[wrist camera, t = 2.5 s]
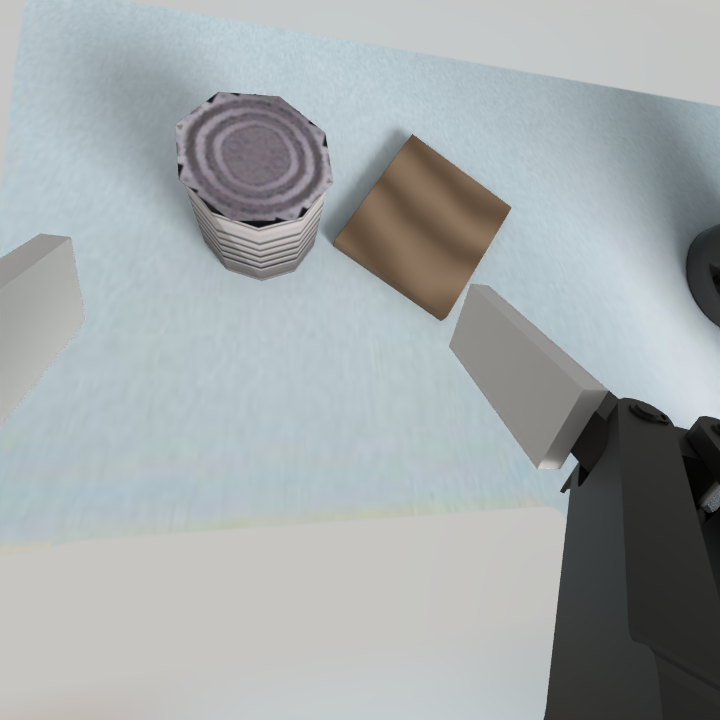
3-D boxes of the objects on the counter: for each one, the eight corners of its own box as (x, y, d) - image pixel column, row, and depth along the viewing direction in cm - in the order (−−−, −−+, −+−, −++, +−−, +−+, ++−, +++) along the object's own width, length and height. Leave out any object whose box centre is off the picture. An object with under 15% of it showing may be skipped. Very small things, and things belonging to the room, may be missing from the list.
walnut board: (407, 143, 47) (412, 134, 45) (504, 214, 48) (511, 207, 47) (333, 246, 43) (335, 239, 41) (440, 320, 44) (446, 317, 42)
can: (176, 236, 39) (137, 156, 28) (246, 156, 42) (236, 54, 31) (275, 303, 40) (277, 252, 29) (336, 220, 43) (360, 144, 32)
